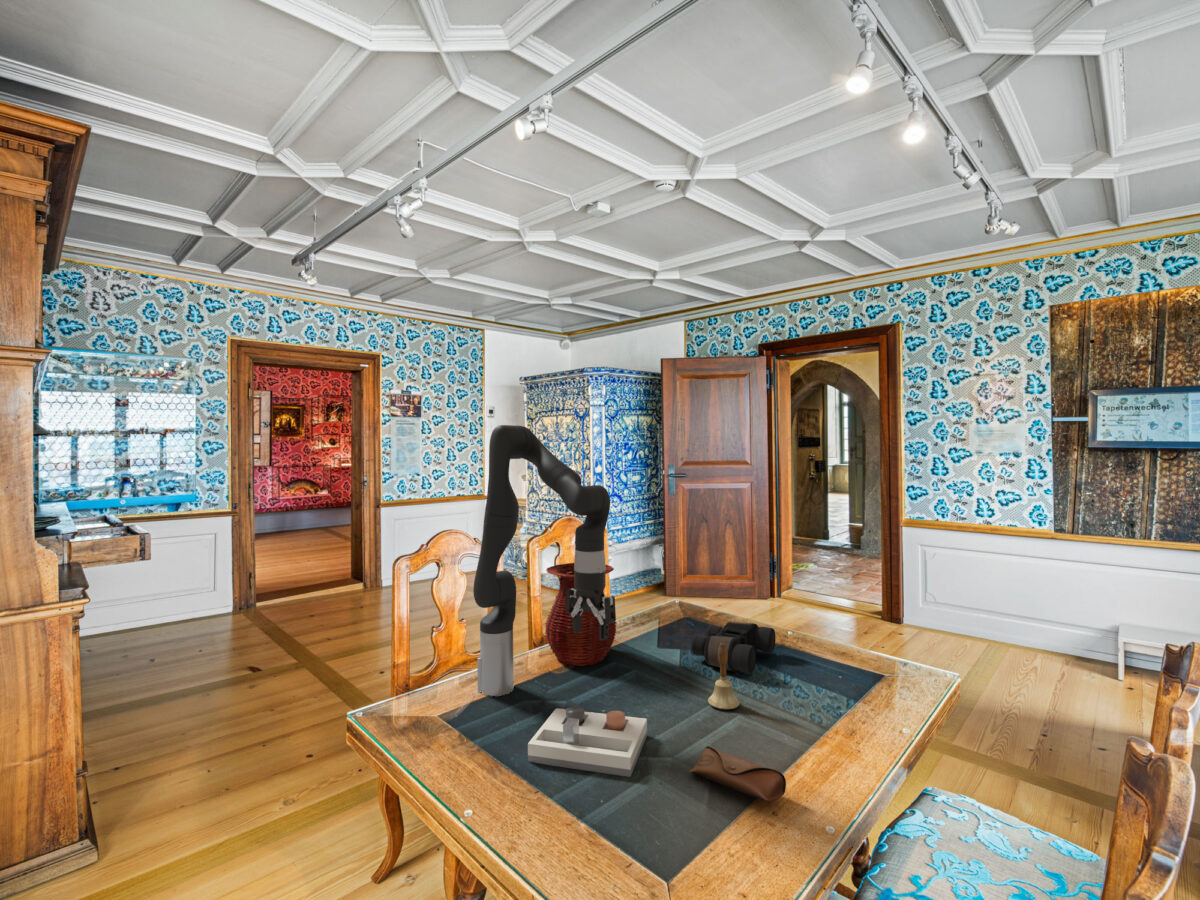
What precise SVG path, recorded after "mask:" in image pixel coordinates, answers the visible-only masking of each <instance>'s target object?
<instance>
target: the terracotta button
mask: <svg viewBox="0 0 1200 900" xmlns="http://www.w3.org/2000/svg"><path fill="white" fill-rule="evenodd" d="M605 714H606V726H607V728H608V729H610V730H622V729H624V728H625V716H626V713H625V712H624V711H621V710H611V711H608V712H607V713H605Z"/></svg>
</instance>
